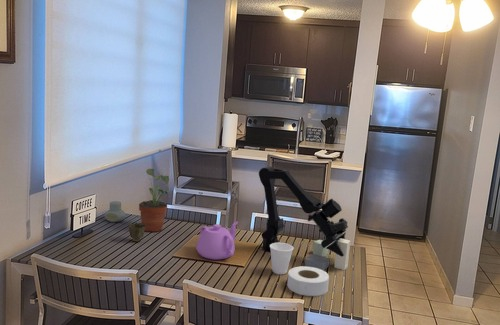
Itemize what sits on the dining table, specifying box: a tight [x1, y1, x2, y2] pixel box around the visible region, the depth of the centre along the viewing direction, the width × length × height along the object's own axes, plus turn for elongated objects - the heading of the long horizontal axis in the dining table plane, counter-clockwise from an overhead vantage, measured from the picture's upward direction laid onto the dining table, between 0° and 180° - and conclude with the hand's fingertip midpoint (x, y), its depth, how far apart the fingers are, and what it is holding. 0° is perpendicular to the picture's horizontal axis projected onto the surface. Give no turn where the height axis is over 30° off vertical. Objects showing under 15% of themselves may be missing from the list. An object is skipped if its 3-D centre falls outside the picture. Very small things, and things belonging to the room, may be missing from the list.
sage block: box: [312, 239, 329, 257], centre depth 208 cm, size 5×5×6 cm
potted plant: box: [138, 168, 170, 233], centre depth 225 cm, size 16×15×35 cm
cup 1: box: [128, 222, 145, 243], centre depth 208 cm, size 8×7×8 cm
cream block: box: [333, 238, 351, 271], centre depth 194 cm, size 4×5×12 cm
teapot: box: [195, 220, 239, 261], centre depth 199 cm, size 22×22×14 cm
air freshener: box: [104, 200, 127, 223], centre depth 237 cm, size 11×8×10 cm
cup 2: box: [270, 242, 295, 275], centre depth 184 cm, size 10×10×11 cm
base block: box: [304, 253, 330, 271], centre depth 193 cm, size 8×8×4 cm
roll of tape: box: [287, 265, 330, 297], centre depth 171 cm, size 16×16×6 cm
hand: (345, 253), depth 193 cm, fingers open, 8 cm apart
